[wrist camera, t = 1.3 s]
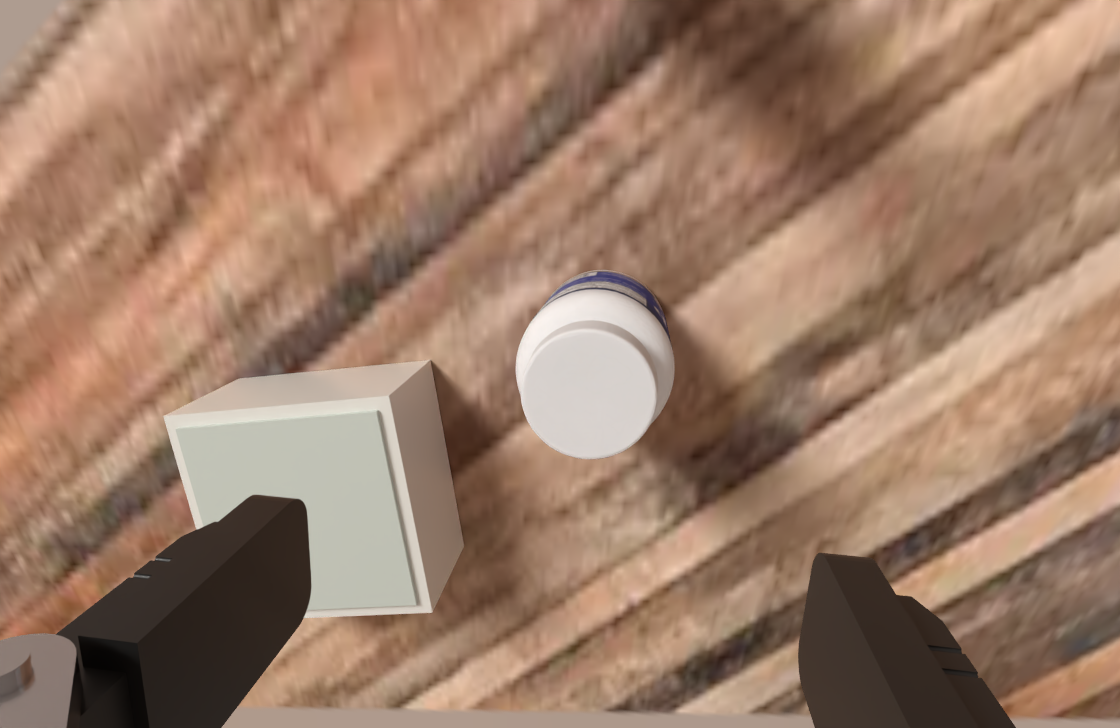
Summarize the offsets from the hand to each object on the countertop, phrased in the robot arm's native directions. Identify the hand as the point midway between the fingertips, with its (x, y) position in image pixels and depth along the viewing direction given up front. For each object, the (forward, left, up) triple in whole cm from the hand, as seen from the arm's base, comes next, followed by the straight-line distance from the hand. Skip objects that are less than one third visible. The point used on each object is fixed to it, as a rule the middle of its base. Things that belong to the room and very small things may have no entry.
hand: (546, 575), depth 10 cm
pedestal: (+11, +7, -18) cm, 22 cm away
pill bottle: (0, 0, -18) cm, 18 cm away
